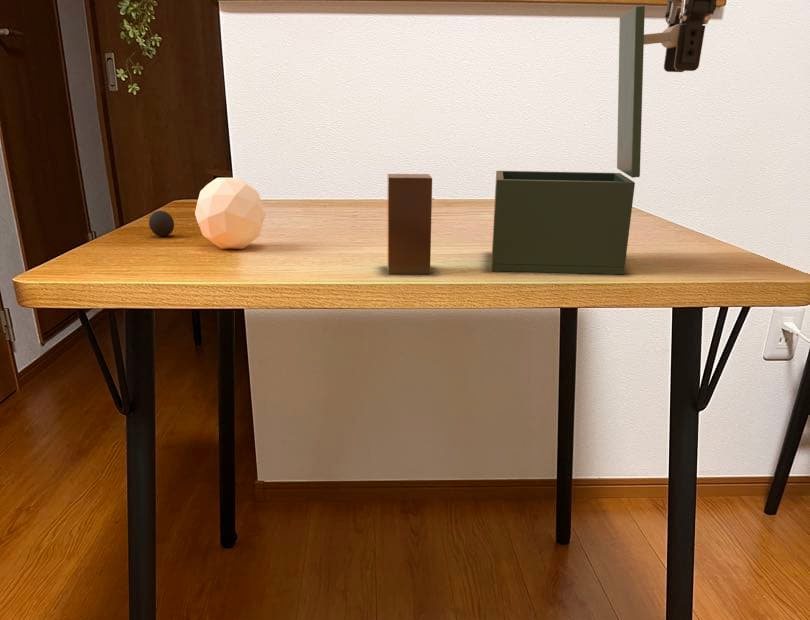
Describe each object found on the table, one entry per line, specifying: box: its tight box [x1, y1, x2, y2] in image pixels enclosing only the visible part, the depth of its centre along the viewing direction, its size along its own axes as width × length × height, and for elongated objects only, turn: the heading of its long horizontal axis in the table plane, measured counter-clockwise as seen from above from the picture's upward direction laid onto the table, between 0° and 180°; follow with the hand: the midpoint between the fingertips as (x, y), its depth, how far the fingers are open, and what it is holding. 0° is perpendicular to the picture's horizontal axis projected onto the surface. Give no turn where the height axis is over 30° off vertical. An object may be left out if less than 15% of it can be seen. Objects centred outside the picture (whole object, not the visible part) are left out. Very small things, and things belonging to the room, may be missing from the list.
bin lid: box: [616, 5, 684, 179], centre depth 86 cm, size 14×11×5 cm
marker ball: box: [148, 210, 175, 237], centre depth 108 cm, size 3×3×3 cm
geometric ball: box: [194, 177, 266, 250], centre depth 100 cm, size 8×8×8 cm
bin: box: [491, 170, 636, 275], centre depth 93 cm, size 13×11×9 cm
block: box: [386, 173, 433, 275], centre depth 88 cm, size 4×4×9 cm
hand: (680, 70), depth 85 cm, fingers closed on bin lid, 5 cm apart
